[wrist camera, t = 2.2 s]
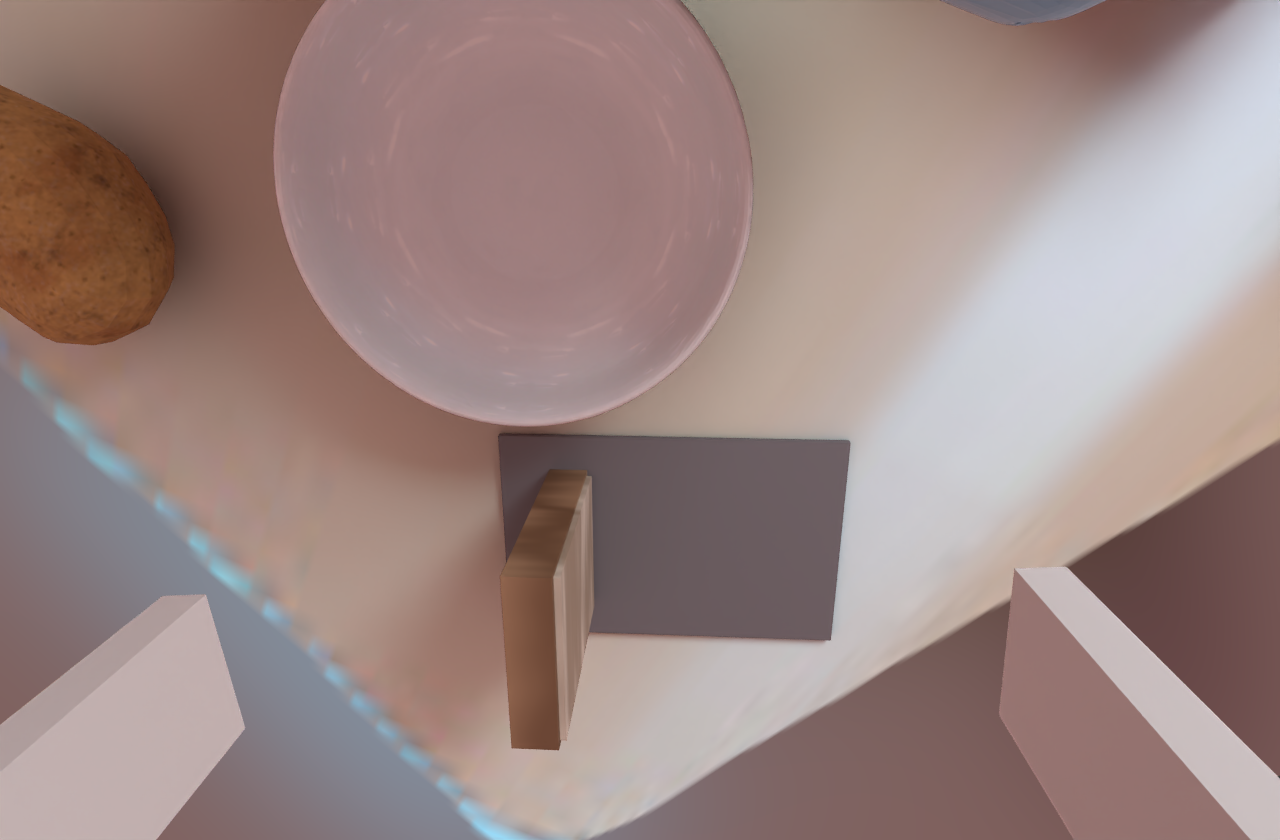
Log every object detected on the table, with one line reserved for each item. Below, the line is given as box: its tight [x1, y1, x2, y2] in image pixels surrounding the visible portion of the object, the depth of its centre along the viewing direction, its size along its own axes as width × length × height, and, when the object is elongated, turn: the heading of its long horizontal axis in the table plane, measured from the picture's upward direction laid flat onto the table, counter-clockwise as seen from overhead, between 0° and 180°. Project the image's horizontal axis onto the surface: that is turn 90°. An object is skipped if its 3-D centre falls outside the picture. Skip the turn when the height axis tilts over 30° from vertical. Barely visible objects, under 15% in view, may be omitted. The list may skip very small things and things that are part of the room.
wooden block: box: [500, 469, 594, 750], centre depth 37 cm, size 2×9×12 cm, turn 0°
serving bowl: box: [273, 0, 753, 426], centre depth 34 cm, size 21×21×7 cm
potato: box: [0, 85, 175, 345], centre depth 35 cm, size 10×14×8 cm
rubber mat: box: [498, 434, 850, 640], centre depth 43 cm, size 20×13×1 cm, turn 90°
